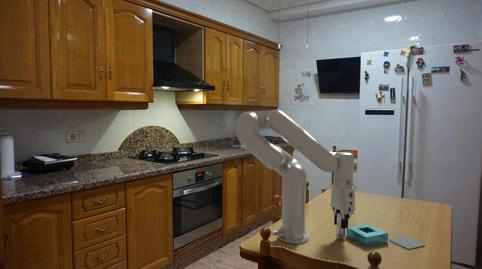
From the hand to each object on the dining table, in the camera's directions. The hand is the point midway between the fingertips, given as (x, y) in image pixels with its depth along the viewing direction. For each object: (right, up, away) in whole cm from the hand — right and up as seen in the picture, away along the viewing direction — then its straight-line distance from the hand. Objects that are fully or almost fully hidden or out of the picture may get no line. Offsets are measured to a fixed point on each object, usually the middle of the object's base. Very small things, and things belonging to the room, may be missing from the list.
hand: (340, 225), depth 128 cm
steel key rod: (0, -5, 0) cm, 5 cm away
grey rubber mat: (+25, -6, -4) cm, 26 cm away
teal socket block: (+11, -6, 0) cm, 12 cm away
